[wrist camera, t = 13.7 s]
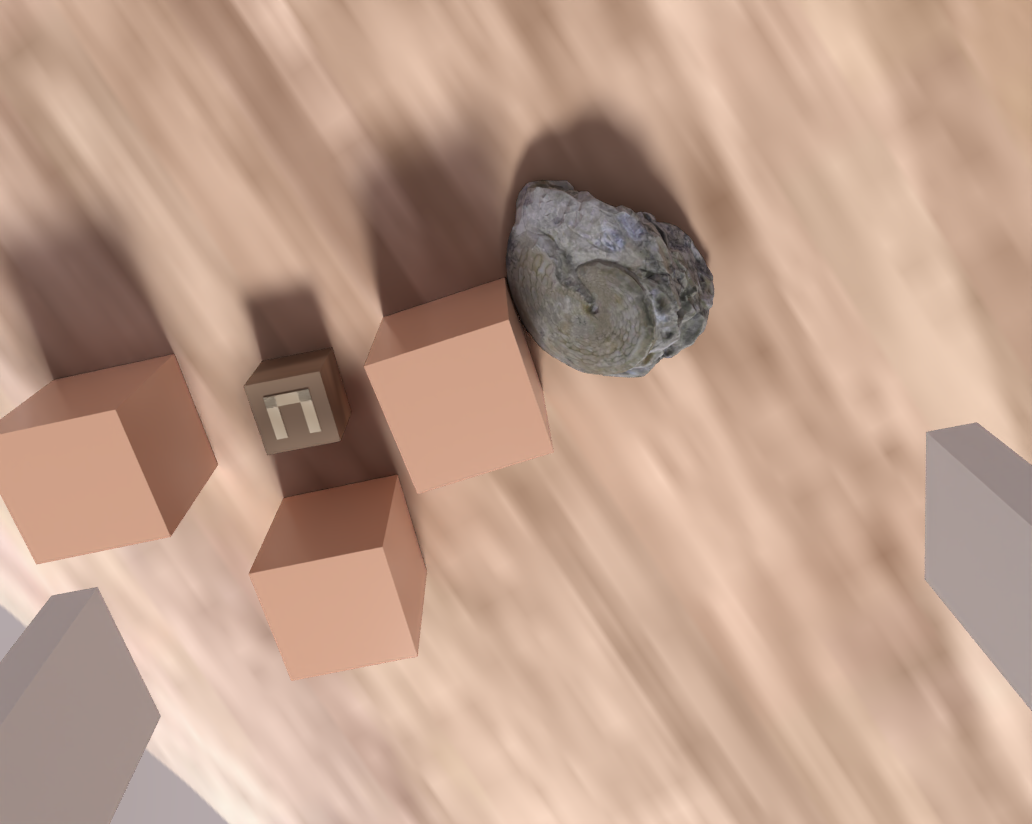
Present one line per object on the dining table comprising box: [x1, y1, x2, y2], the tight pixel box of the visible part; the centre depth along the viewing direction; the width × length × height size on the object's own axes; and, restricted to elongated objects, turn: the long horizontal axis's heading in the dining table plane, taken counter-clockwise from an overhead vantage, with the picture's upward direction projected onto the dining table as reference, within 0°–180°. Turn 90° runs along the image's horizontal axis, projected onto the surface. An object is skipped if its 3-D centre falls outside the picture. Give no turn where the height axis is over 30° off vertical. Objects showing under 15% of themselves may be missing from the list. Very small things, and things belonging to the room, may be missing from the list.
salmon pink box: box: [0, 354, 218, 564], centre depth 44 cm, size 7×7×8 cm
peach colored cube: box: [364, 277, 554, 494], centre depth 43 cm, size 7×7×8 cm
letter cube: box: [244, 347, 351, 455], centre depth 45 cm, size 4×4×4 cm
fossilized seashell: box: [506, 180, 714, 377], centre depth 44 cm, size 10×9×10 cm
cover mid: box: [249, 475, 427, 681], centre depth 47 cm, size 7×7×8 cm
